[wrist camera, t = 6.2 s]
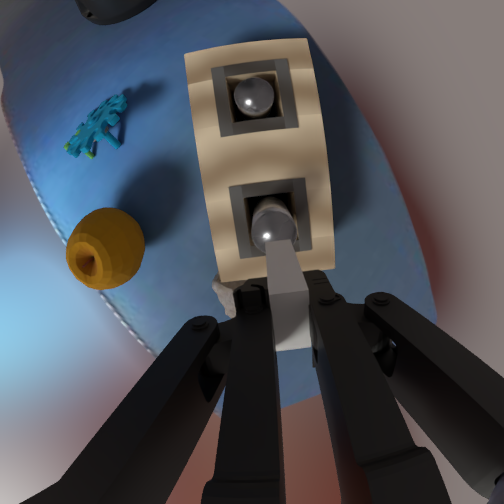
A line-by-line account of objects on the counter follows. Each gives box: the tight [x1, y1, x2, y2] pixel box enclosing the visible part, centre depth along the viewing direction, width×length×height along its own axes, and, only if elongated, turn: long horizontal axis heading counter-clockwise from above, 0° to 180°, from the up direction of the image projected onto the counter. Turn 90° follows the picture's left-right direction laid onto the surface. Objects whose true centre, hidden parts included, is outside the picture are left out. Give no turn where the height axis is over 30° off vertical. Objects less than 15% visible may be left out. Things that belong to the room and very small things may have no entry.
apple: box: [66, 208, 145, 290], centre depth 30 cm, size 10×10×12 cm
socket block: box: [184, 38, 335, 282], centre depth 28 cm, size 24×12×8 cm, turn 8°
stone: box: [212, 271, 247, 318], centre depth 35 cm, size 10×8×6 cm
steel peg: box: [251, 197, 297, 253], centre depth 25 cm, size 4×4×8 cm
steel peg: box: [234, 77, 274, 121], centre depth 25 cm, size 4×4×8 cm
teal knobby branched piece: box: [64, 94, 127, 159], centre depth 28 cm, size 11×6×10 cm
